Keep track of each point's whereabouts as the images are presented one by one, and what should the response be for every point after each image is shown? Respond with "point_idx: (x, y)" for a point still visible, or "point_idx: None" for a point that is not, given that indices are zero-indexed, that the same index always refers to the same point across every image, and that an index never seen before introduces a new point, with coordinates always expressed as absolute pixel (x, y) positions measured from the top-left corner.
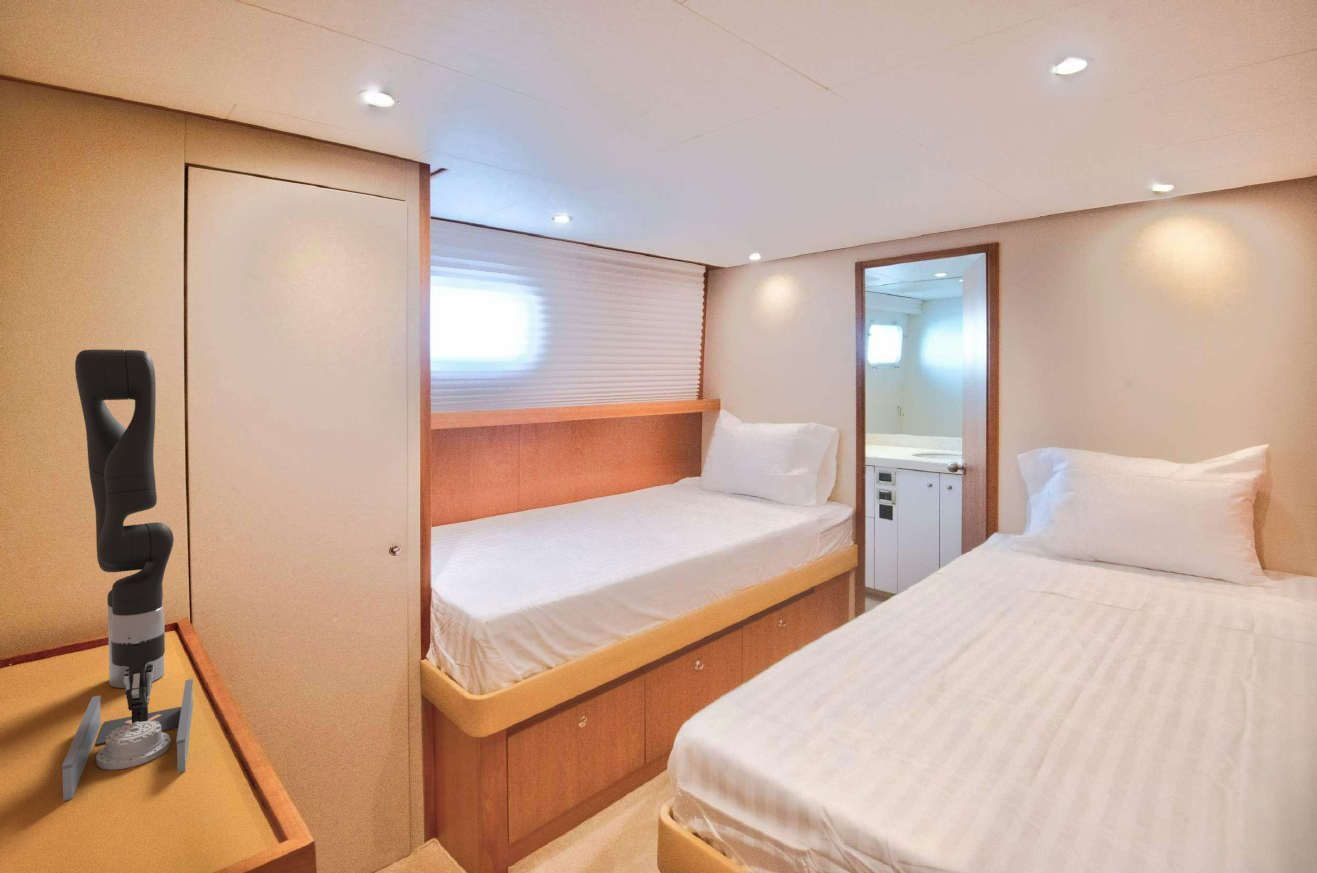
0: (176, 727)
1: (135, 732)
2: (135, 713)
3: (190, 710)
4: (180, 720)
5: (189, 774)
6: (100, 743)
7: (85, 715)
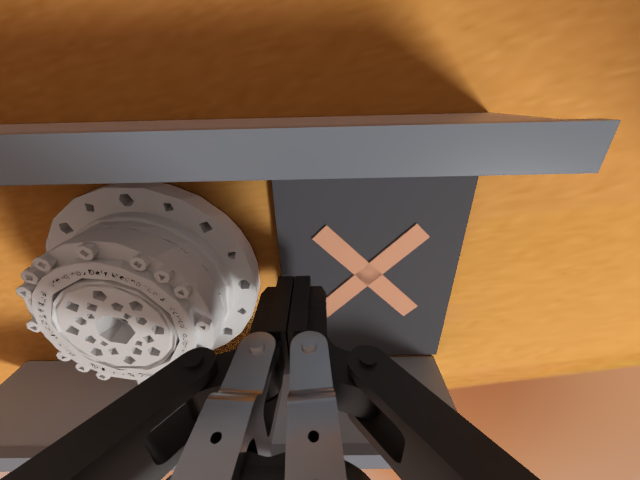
0: None
1: (93, 335)
2: (250, 333)
3: None
4: None
5: None
6: None
7: (266, 137)
